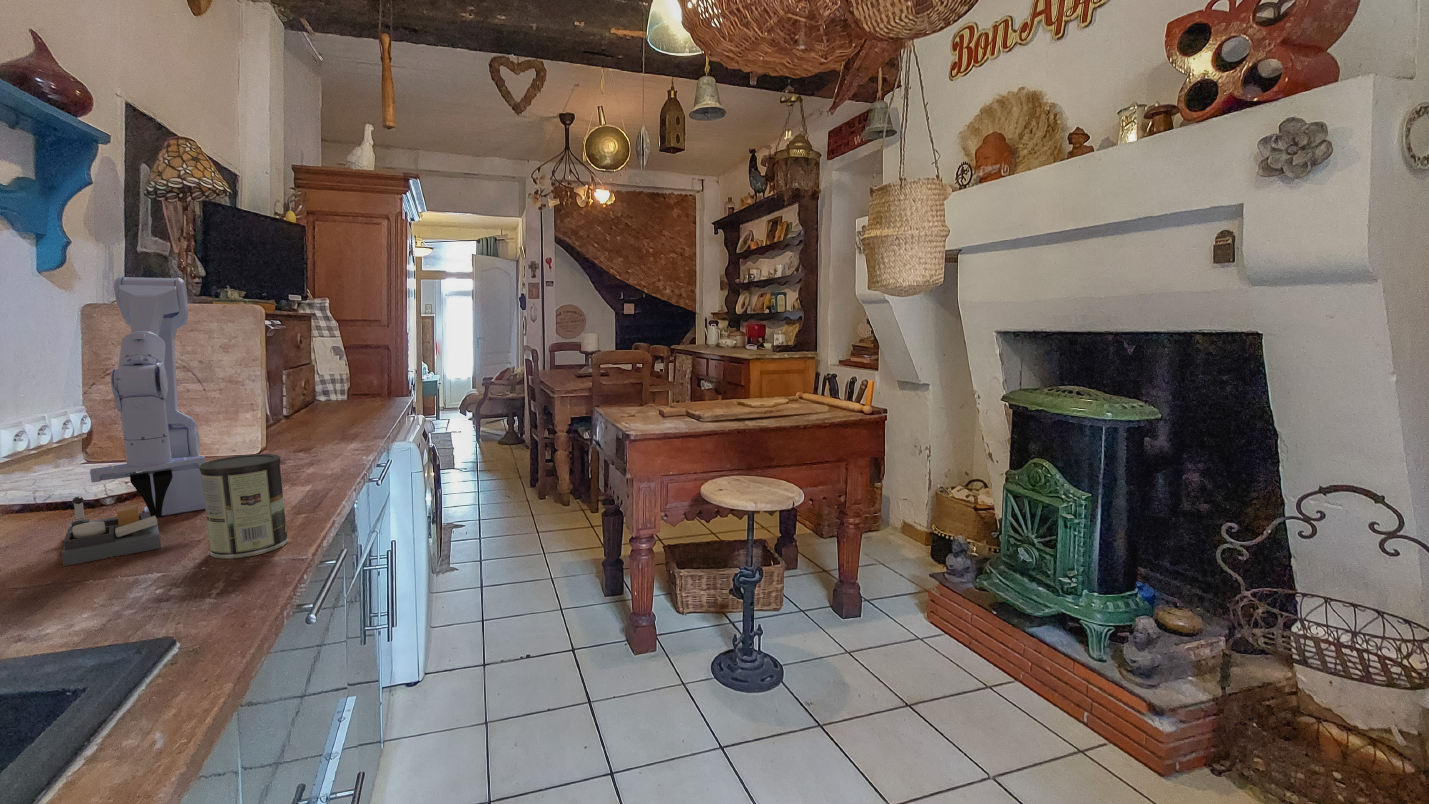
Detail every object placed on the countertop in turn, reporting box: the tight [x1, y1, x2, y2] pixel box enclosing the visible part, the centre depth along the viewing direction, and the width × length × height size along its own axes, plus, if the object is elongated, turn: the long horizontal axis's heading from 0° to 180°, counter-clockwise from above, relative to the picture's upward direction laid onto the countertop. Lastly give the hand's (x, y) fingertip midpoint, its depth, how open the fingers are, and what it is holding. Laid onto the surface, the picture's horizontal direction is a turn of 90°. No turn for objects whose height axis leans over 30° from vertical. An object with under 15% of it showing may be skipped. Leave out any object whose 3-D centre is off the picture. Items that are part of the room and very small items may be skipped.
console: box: [61, 511, 162, 567], centre depth 106 cm, size 11×18×3 cm, turn 42°
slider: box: [116, 503, 139, 526], centre depth 108 cm, size 2×4×3 cm, turn 42°
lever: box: [72, 496, 85, 520], centre depth 108 cm, size 1×1×4 cm
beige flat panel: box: [115, 516, 158, 537], centre depth 104 cm, size 5×3×1 cm, turn 131°
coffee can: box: [199, 453, 289, 560], centre depth 103 cm, size 10×10×14 cm
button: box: [72, 521, 106, 538], centre depth 100 cm, size 4×4×2 cm
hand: (156, 516), depth 110 cm, fingers closed
